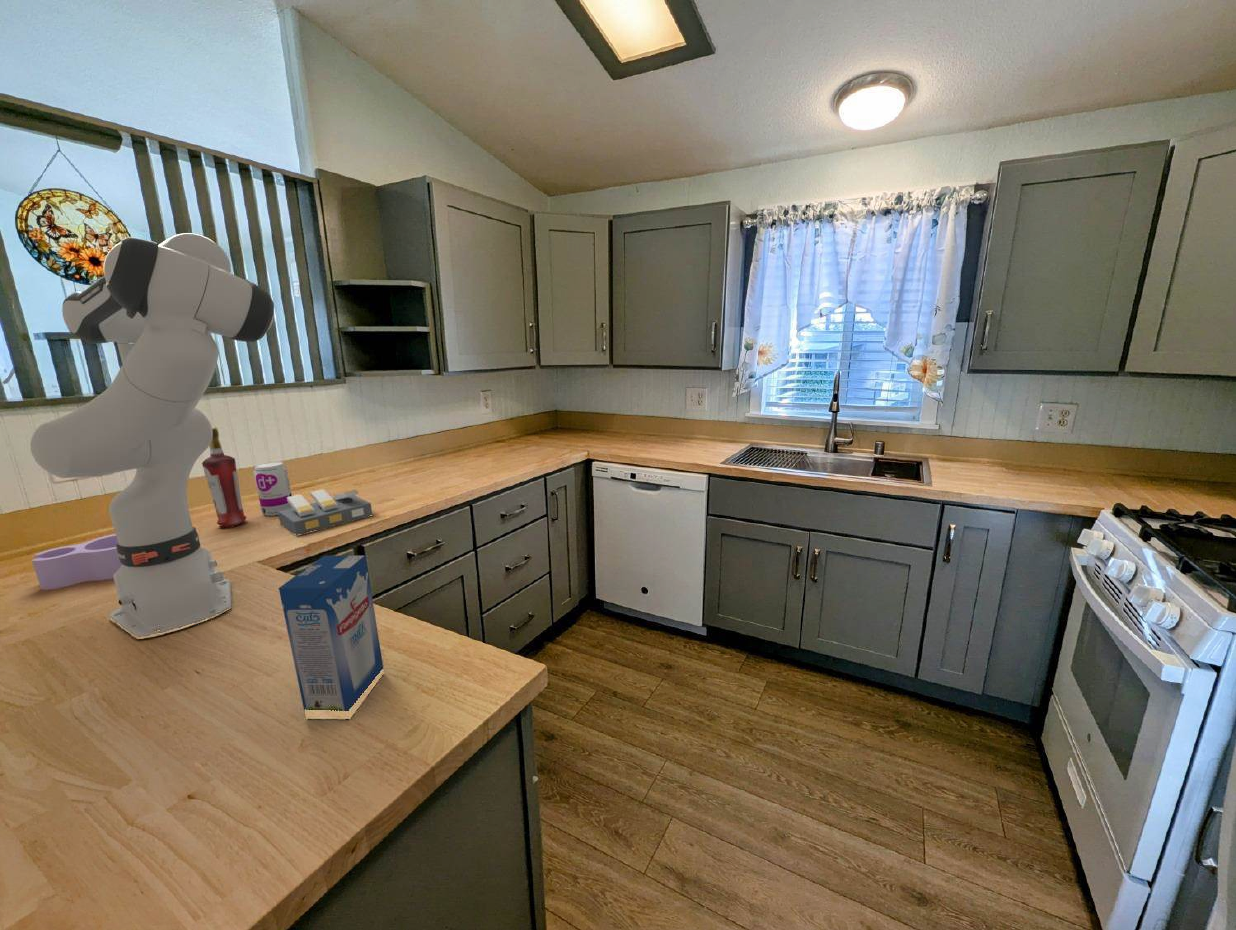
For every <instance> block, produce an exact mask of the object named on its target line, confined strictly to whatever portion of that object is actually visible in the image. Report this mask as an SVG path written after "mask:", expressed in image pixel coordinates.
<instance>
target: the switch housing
mask: <svg viewBox="0 0 1236 930" xmlns="http://www.w3.org/2000/svg"><path fill="white" fill-rule="evenodd" d="M332 499H333V500H334V501H335V502H336V503H337V506H338V508H334V509H330V510H326V511H324V510H323V509H322V508H321V507H320V506H319V504H318V503H317V502H316V501H315V502H311V503H309V504H310V505H311V506H312V508H313V509H314V513H313V514H309V515H305V516H301V517H300V516H299V514H298V513H297V512H296V511H295V510H294V508H289V509H285V510H281V511H278V514H279V515H278V519H279V522H280V525H281V526H282V525H283V526H284V527H283V526H282V527H283V528H285V529H286V530H288V531H289V530H290V531H291V532H290V531H289V532H290V533H292V532H293V533H294V534H296V535H298V534H303V535H305V534H304V533H307V532H310V531H314V530H318V531H321V530H320V529H322V530H325V529H324V528H326V529H328V528H327V527H329V528H331V527H330V526H333V525H337V526H340V525H339V524H341V525H343V524H342V523H344V524H347V523H346V522H348V523H350V522H349V521H352V520H356V521H358V520H359V521H360V520H362V519H361V518H363V519H365V517H367V518H369V517H368V516H370V515H373V510H372V503H371V502H369V501H368V500H365V499H362V498H360V497H359V496H356V495H352V496H348V497H343V498H339V499H334V497H333V498H332ZM352 522H353V521H352ZM333 527H334V526H333ZM314 532H315V531H314ZM293 533H292V534H293ZM294 534H293V535H294ZM307 534H308V533H307ZM296 535H295V536H296Z"/></svg>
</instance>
